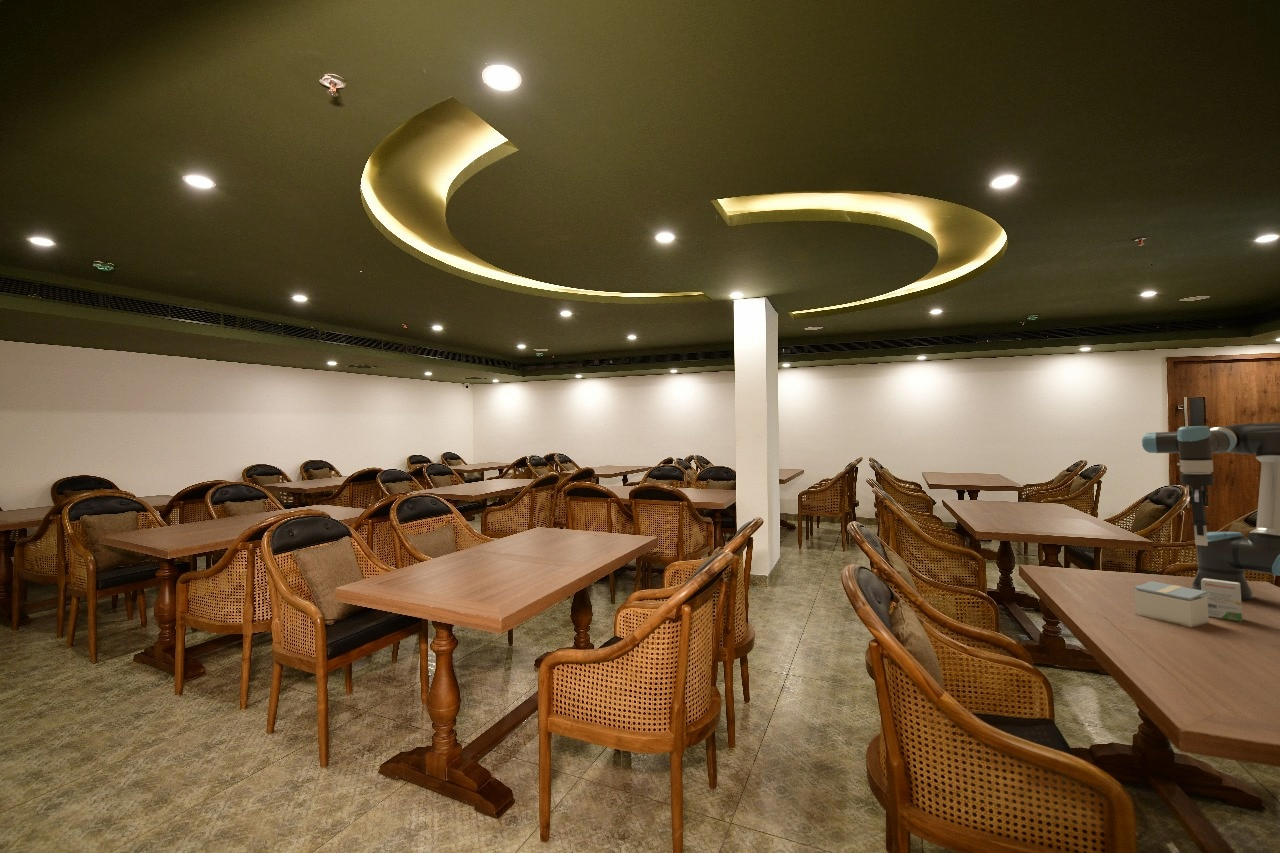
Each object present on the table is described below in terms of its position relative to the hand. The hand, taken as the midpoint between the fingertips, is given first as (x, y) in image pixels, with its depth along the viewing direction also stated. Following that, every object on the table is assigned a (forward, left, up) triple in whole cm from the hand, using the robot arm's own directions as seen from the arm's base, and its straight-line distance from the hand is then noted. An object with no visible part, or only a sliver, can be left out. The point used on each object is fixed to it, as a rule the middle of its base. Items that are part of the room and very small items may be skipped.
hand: (1201, 544), depth 172 cm
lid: (+11, -4, -15) cm, 19 cm away
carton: (+11, -4, -24) cm, 26 cm away
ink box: (-5, +2, -24) cm, 24 cm away
